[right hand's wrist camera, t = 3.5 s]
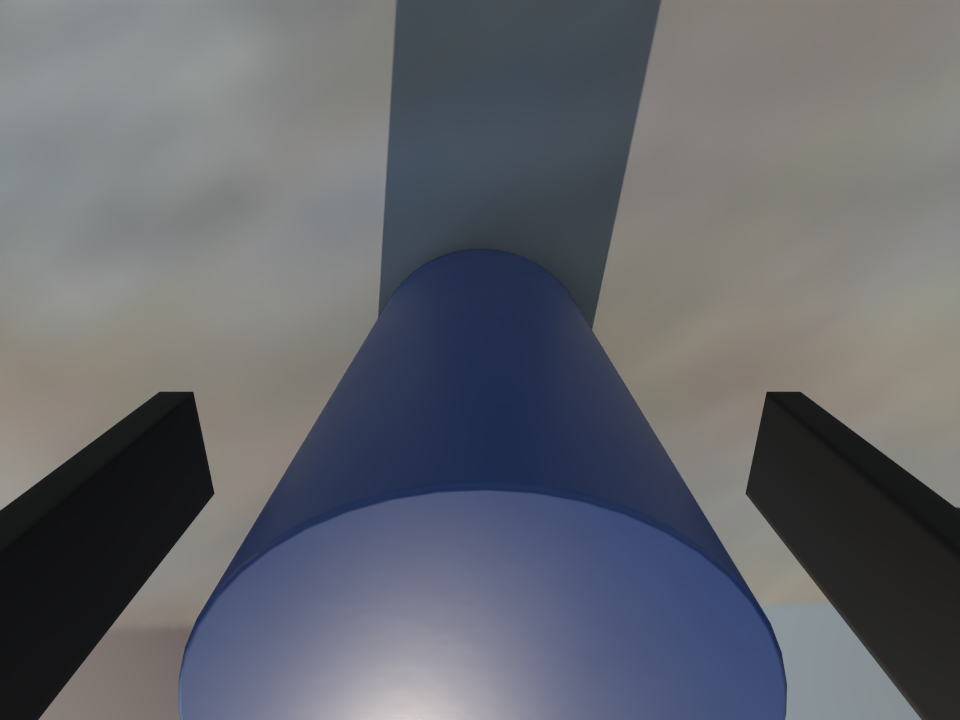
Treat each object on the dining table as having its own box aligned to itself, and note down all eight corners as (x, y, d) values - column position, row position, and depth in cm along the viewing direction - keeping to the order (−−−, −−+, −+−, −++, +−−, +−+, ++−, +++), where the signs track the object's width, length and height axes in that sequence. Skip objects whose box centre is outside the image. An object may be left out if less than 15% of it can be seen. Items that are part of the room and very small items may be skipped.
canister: (341, 388, 18) (97, 805, 7) (441, 205, 16) (336, 353, 4) (515, 476, 19) (564, 957, 8) (629, 319, 17) (926, 662, 6)
